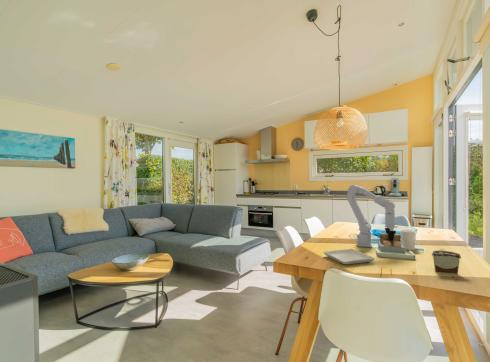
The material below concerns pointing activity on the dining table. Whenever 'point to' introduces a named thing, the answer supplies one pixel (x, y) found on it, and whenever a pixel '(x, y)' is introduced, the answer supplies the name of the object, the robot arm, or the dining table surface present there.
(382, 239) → the long brown wooden post
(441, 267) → the food container
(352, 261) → the salad plate
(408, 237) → the mug
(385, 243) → the tile
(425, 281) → the dining table surface
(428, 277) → the dining table surface
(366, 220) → the robot arm
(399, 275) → the dining table surface
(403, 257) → the tray
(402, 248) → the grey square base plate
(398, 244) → the tile
